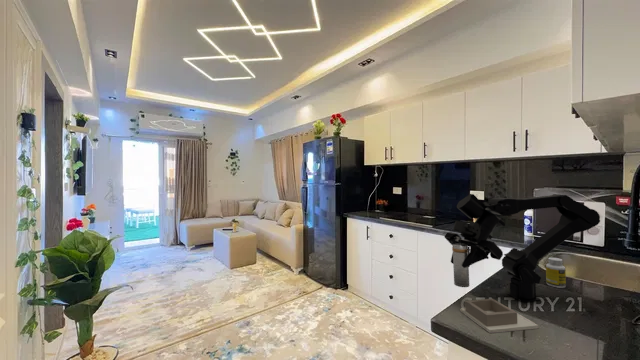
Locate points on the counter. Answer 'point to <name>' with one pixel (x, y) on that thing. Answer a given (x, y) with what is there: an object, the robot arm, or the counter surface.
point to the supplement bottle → (555, 273)
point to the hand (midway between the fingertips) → (457, 264)
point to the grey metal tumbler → (460, 265)
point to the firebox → (495, 316)
